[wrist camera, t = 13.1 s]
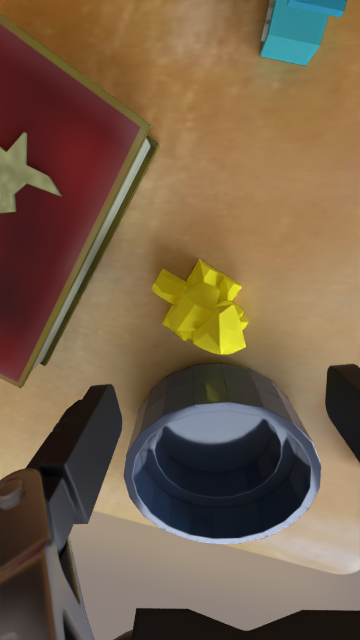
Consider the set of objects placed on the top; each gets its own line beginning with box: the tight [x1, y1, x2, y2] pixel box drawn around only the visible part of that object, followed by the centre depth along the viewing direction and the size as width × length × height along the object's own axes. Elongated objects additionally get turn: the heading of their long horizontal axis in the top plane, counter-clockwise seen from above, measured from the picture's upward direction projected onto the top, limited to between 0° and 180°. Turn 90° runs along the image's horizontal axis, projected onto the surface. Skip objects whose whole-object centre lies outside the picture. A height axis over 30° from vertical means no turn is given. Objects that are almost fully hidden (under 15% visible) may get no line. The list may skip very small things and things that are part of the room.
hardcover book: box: [0, 14, 159, 388], centre depth 18 cm, size 12×21×4 cm, turn 147°
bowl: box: [124, 363, 321, 544], centre depth 23 cm, size 16×16×6 cm
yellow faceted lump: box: [151, 259, 248, 355], centre depth 18 cm, size 6×8×8 cm
